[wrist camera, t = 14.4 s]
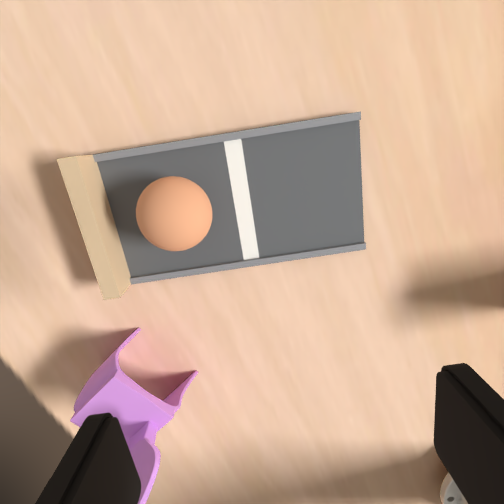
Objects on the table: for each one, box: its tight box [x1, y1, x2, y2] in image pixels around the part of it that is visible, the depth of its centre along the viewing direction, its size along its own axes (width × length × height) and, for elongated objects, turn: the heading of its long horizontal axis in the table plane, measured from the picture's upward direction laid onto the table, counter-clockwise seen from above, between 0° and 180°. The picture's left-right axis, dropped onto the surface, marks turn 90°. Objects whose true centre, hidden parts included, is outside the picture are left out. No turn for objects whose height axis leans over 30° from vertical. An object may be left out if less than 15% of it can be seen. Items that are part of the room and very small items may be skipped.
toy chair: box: [70, 328, 198, 504], centre depth 28 cm, size 8×9×15 cm
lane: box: [57, 112, 366, 300], centre depth 28 cm, size 24×12×4 cm, turn 99°
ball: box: [136, 176, 212, 251], centre depth 26 cm, size 6×6×6 cm
